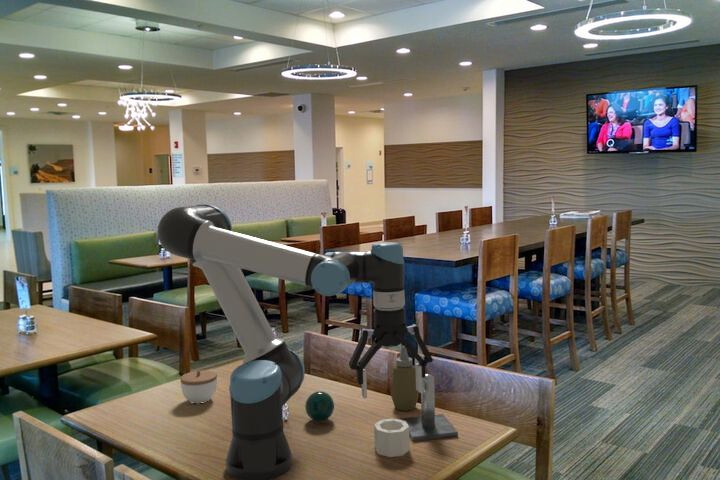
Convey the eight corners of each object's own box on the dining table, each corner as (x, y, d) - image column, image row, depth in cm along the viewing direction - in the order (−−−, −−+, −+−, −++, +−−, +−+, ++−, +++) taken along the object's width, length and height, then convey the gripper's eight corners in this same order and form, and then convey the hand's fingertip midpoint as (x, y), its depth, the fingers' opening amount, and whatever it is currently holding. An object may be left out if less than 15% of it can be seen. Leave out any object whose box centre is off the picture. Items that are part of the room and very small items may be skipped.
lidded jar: (188, 394, 187) (186, 365, 186) (222, 394, 186) (220, 364, 185) (176, 407, 176) (174, 376, 175) (212, 407, 176) (210, 376, 175)
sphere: (324, 412, 169) (323, 385, 169) (340, 421, 163) (339, 392, 162) (300, 419, 165) (299, 391, 164) (315, 428, 158) (314, 399, 157)
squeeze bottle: (417, 413, 167) (416, 351, 165) (389, 412, 168) (387, 350, 166) (420, 403, 174) (419, 343, 173) (393, 401, 176) (392, 342, 174)
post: (412, 441, 149) (411, 383, 148) (400, 422, 161) (399, 369, 159) (457, 436, 151) (457, 379, 150) (442, 418, 163) (442, 365, 162)
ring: (379, 458, 140) (379, 433, 140) (372, 443, 148) (372, 420, 148) (412, 454, 142) (411, 430, 141) (403, 440, 150) (403, 417, 149)
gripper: (340, 314, 136) (343, 404, 138) (444, 306, 140) (446, 393, 142) (335, 308, 143) (338, 393, 145) (434, 300, 147) (436, 383, 150)
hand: (392, 393), depth 144 cm, fingers open, 13 cm apart
